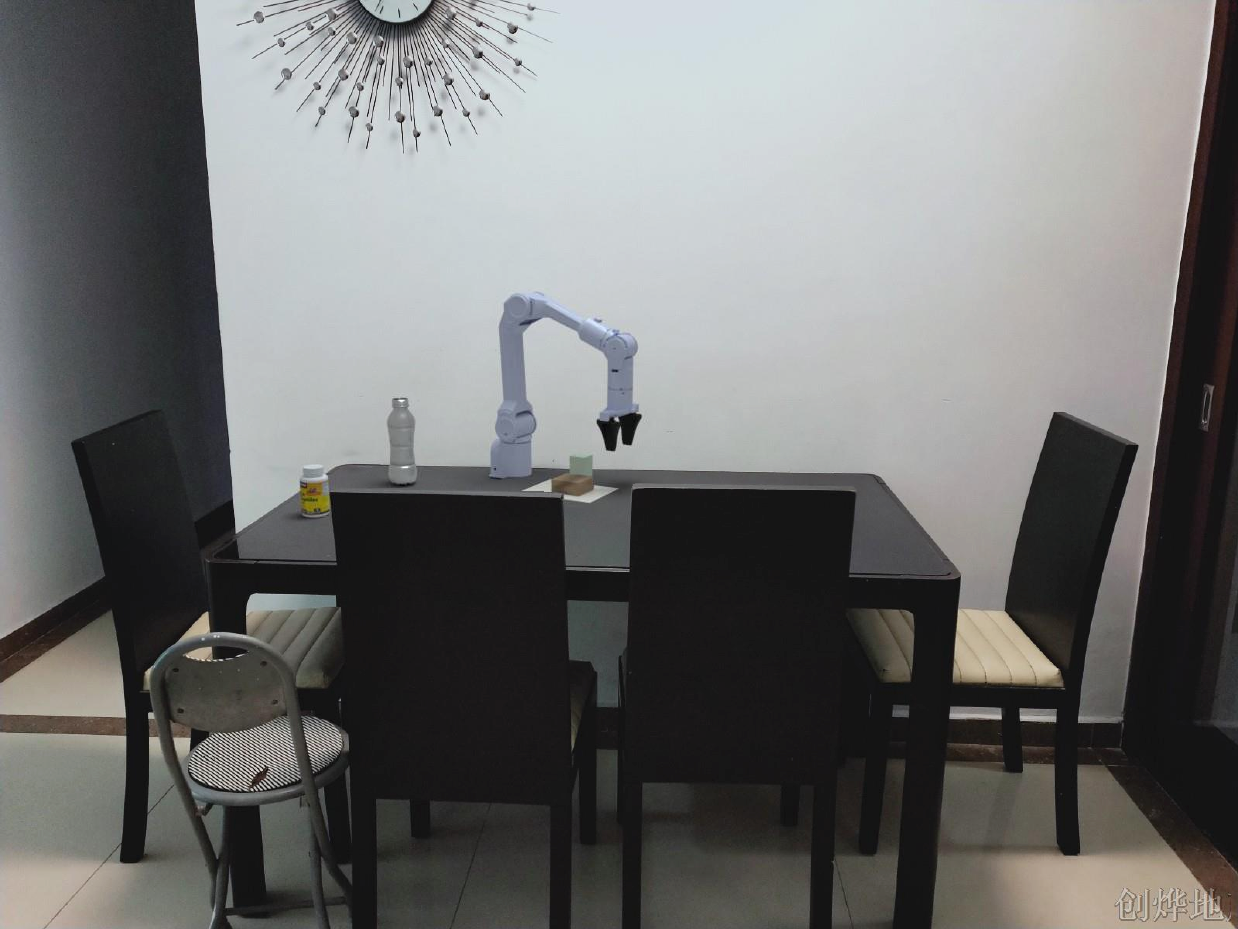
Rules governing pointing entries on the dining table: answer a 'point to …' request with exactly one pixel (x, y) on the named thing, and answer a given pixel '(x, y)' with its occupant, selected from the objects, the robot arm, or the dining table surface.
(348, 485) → the dining table surface
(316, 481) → the supplement bottle
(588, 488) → the walnut base
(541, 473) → the dining table surface
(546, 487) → the plate
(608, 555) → the dining table surface
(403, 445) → the plastic bottle
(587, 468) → the sage block
